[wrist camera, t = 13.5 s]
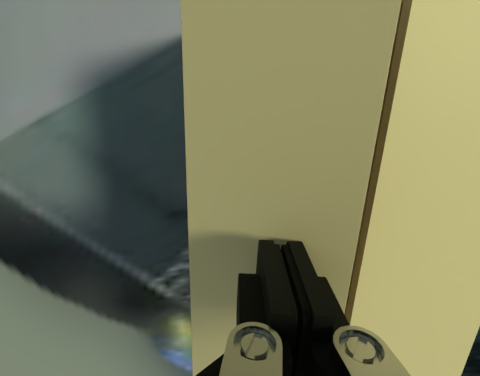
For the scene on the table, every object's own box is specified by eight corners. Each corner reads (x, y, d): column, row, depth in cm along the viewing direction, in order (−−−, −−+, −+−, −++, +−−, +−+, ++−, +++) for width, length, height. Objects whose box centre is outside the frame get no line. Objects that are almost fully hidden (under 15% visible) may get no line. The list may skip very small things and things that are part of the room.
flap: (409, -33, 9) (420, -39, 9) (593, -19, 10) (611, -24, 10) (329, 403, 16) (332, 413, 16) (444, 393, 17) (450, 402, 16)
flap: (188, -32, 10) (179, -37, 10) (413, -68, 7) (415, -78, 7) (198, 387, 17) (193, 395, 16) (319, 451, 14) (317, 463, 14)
